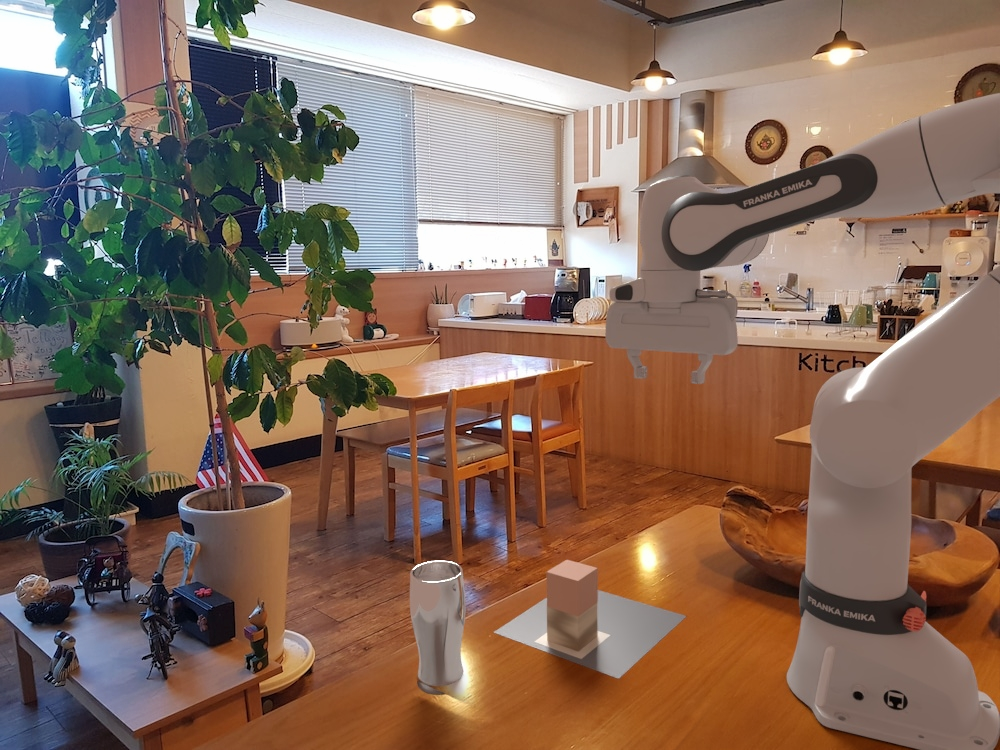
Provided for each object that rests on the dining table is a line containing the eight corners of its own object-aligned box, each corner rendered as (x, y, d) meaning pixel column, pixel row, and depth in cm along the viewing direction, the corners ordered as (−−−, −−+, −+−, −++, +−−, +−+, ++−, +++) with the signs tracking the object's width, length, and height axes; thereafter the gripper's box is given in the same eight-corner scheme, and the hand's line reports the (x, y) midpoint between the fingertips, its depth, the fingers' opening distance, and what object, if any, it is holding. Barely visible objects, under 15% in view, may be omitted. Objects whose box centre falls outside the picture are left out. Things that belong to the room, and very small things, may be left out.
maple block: (597, 636, 103) (597, 602, 103) (578, 651, 100) (577, 616, 99) (567, 625, 107) (566, 593, 106) (547, 640, 103) (546, 606, 102)
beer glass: (402, 689, 94) (397, 577, 92) (432, 662, 100) (428, 556, 98) (450, 703, 91) (445, 587, 89) (478, 674, 97) (474, 565, 95)
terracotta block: (597, 602, 103) (597, 568, 102) (578, 616, 99) (577, 580, 98) (567, 593, 106) (566, 559, 105) (547, 606, 102) (546, 571, 101)
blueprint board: (686, 623, 109) (686, 615, 109) (618, 687, 93) (618, 678, 93) (570, 588, 121) (570, 581, 121) (493, 640, 106) (493, 632, 105)
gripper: (745, 288, 108) (743, 383, 110) (620, 287, 120) (620, 372, 122) (729, 291, 103) (726, 390, 105) (600, 289, 115) (600, 378, 118)
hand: (668, 380), depth 114 cm, fingers open, 8 cm apart
